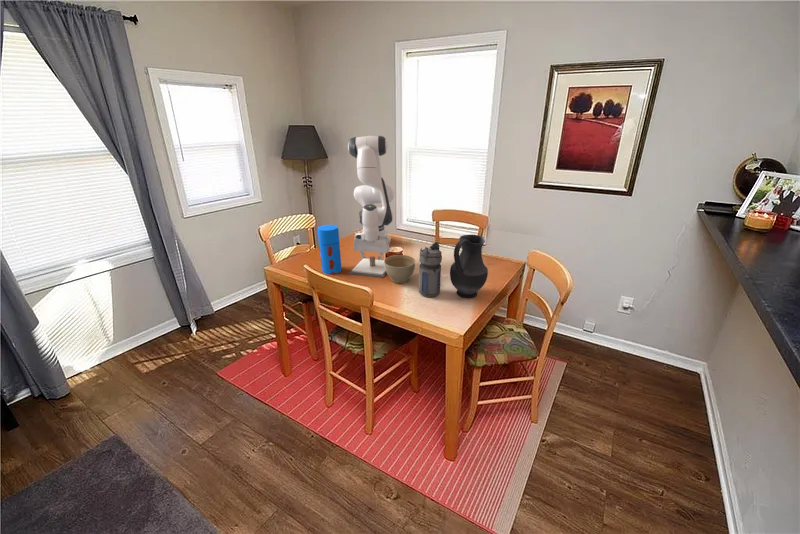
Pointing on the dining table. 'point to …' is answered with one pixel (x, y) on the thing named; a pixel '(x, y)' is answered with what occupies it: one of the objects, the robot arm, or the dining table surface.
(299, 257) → the dining table surface
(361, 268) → the lid
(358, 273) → the mat
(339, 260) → the blue slotted cylinder
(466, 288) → the pitcher
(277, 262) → the dining table surface
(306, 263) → the dining table surface
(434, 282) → the beverage bottle
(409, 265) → the planter bowl
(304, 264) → the dining table surface
